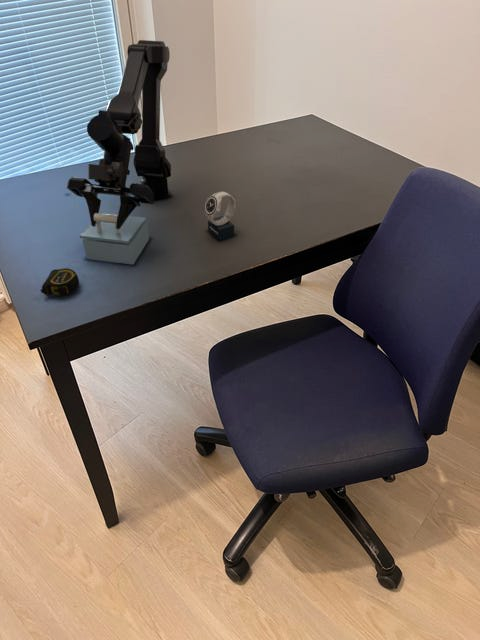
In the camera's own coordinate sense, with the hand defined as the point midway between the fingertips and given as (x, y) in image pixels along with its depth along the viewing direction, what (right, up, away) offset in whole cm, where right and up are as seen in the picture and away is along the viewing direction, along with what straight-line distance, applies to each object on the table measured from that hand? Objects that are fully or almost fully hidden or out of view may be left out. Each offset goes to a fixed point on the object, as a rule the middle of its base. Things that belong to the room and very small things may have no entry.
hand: (105, 227), depth 108 cm
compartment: (+1, -3, +9) cm, 10 cm away
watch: (+25, +1, +15) cm, 30 cm away
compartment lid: (+1, +1, +5) cm, 5 cm away
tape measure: (-9, -15, -4) cm, 17 cm away
